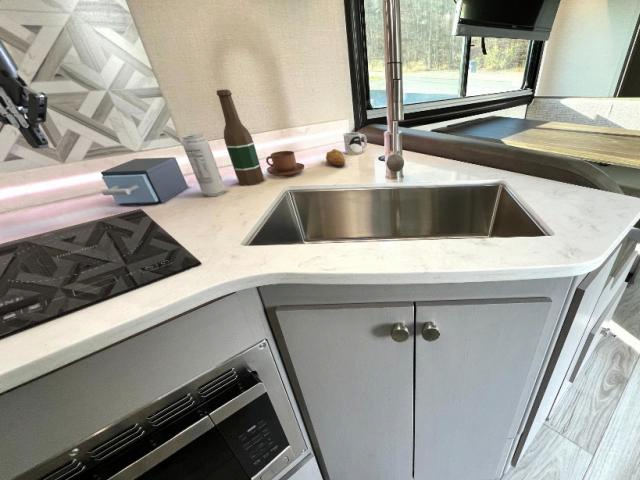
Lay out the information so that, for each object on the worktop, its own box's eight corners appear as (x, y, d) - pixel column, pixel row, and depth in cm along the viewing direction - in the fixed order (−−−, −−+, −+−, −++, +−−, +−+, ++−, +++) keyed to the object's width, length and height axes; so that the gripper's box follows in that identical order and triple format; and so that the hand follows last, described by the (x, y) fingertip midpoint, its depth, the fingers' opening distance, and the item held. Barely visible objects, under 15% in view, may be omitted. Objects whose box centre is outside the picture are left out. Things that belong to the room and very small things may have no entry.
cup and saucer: (265, 180, 99) (260, 159, 95) (270, 170, 108) (265, 150, 105) (304, 177, 101) (300, 156, 97) (306, 167, 110) (302, 148, 106)
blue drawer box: (162, 203, 85) (145, 170, 80) (119, 205, 85) (100, 172, 80) (188, 187, 96) (175, 157, 90) (150, 188, 96) (135, 158, 90)
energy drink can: (231, 191, 91) (210, 133, 82) (214, 198, 87) (190, 138, 78) (215, 189, 93) (194, 132, 84) (198, 195, 89) (173, 137, 80)
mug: (351, 155, 122) (349, 136, 118) (342, 152, 126) (340, 134, 122) (372, 150, 127) (370, 132, 123) (362, 148, 131) (361, 130, 127)
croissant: (321, 161, 116) (318, 146, 113) (338, 158, 118) (336, 144, 115) (333, 169, 106) (331, 153, 103) (352, 166, 109) (350, 151, 106)
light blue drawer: (144, 208, 79) (129, 181, 75) (103, 210, 79) (86, 183, 75) (181, 186, 93) (170, 162, 89) (146, 188, 93) (133, 163, 89)
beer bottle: (241, 179, 101) (211, 89, 86) (266, 177, 102) (241, 88, 87) (235, 186, 95) (202, 91, 80) (262, 184, 96) (234, 90, 81)
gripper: (-97, 37, 51) (-10, 153, 61) (-15, 35, 51) (59, 151, 61) (-46, 39, 57) (26, 144, 67) (28, 38, 57) (88, 143, 67)
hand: (41, 147), depth 64 cm, fingers closed
